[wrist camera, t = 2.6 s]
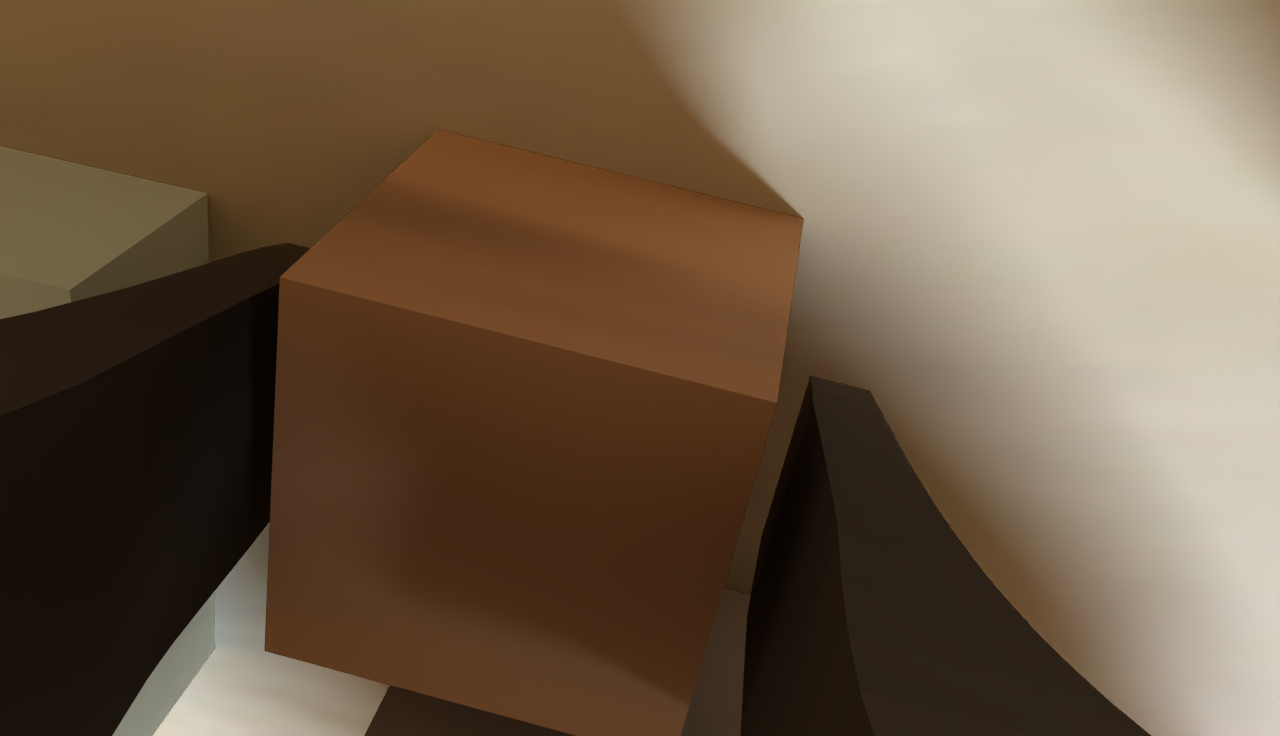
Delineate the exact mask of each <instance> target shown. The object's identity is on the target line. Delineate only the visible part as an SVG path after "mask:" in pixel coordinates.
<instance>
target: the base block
mask: <svg viewBox="0 0 1280 736" xmlns="http://www.w3.org/2000/svg"><path fill="white" fill-rule="evenodd" d="M207 263H209V240H208V193H205V192H200V191H196V190H192V189H187V188H183V187H178V186H174V185H170V184H165V183H161V182H156V181H152V180H148V179H143V178H139V177H134V176H130V175H126V174H121V173H117V172H112V171H108V170H104V169H99V168H95V167H90V166H86V165H82V164H77V163H73V162H68V161H64V160H60V159H55V158H51V157H46V156H42V155H38V154H33V153H29V152H24V151H20V150H16V149H11V148H7V147H2V146H0V319H3V318H8V317H13V316H18V315H22V314H27V313H31V312H36V311H40V310H43V309H47V308H51V307H55V306H59V305H63V304H67V303H70V302H74V301H78V300H82V299H86V298H90V297H93V296H97V295H101V294H105V293H109V292H113V291H116V290H120V289H124V288H128V287H131V286H135V285H138V284H141V283H145V282H148V281H151V280H155V279H158V278H161V277H164V276H168V275H171V274H174V273H178V272H181V271H184V270H188V269H191V268H194V267H198V266H201V265H204V264H207ZM214 649H215V611H214V592H213V594H212V595H211V596H210V598H209V599H208V600H207V601H206V603H205V604H204V605H203V606H202V608H201V609H200V610H199V611H198V613H197V614H196V615H195V616H194V618H193V619H192V620H191V621H190V623H189V624H188V625H187V627H186V628H185V629H184V630H183V632H182V633H181V634H180V635H179V637H178V638H177V639H176V640H175V642H174V643H173V644H172V646H171V647H170V648H169V650H168V651H167V653H166V654H165V655H164V657H163V658H162V660H161V661H160V662H159V664H158V665H157V667H156V668H155V669H154V671H153V672H152V674H151V675H150V676H149V678H148V679H147V681H146V682H145V684H144V686H143V687H142V689H141V690H140V692H139V694H138V695H137V697H136V698H135V700H134V702H133V703H132V705H131V707H130V708H129V710H128V711H127V713H126V715H125V716H124V718H123V719H122V721H121V723H120V724H119V726H118V727H117V729H116V731H115V732H114V734H113V735H112V736H152V735H153V734H154V733H155V731H156V730H157V729H158V727H159V726H160V724H161V723H162V722H163V720H164V719H165V717H166V716H167V715H168V713H169V712H170V710H171V709H172V708H173V706H174V705H175V703H176V702H177V701H178V699H179V698H180V696H181V695H182V694H183V692H184V691H185V689H186V688H187V687H188V685H189V684H190V682H191V681H192V680H193V678H194V677H195V676H196V674H197V673H198V671H199V670H200V669H201V667H202V666H203V664H204V663H205V662H206V660H207V659H208V657H209V656H210V655H211V653H212V652H213V650H214Z"/></svg>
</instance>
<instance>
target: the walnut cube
mask: <svg viewBox="0 0 1280 736" xmlns="http://www.w3.org/2000/svg"><path fill="white" fill-rule="evenodd" d="M803 220H804V219H803V218H799V217H795V216H791V215H787V214H783V213H778V212H774V211H770V210H766V209H762V208H758V207H754V206H750V205H746V204H742V203H737V202H733V201H729V200H725V199H721V198H717V197H713V196H709V195H705V194H701V193H696V192H692V191H688V190H684V189H680V188H676V187H672V186H668V185H664V184H660V183H655V182H651V181H647V180H643V179H639V178H635V177H631V176H627V175H623V174H618V173H614V172H610V171H606V170H602V169H598V168H594V167H590V166H586V165H582V164H577V163H573V162H569V161H565V160H561V159H557V158H553V157H549V156H545V155H541V154H536V153H532V152H528V151H524V150H520V149H516V148H512V147H508V146H504V145H500V144H495V143H491V142H487V141H483V140H479V139H475V138H471V137H467V136H463V135H458V134H454V133H450V132H446V131H442V130H437V131H436V132H435V133H434V134H433V135H432V136H431V137H430V138H429V139H428V140H427V141H426V142H425V143H423V144H422V145H421V146H420V147H419V148H418V149H417V150H416V151H415V152H414V153H413V154H412V155H411V156H410V157H408V158H407V159H406V160H405V161H404V162H403V163H402V164H401V165H400V166H399V167H398V168H397V169H396V170H394V171H393V172H392V173H391V174H390V175H389V176H388V177H387V178H386V179H385V180H384V181H383V182H382V183H380V184H379V185H378V186H377V187H376V188H375V189H374V190H373V191H372V192H371V193H370V194H369V195H368V196H367V197H365V198H364V199H363V200H362V201H361V202H360V203H359V204H358V205H357V206H356V207H355V208H354V209H353V210H351V211H350V212H349V213H348V214H347V215H346V216H345V217H344V218H343V219H342V220H341V221H340V222H339V223H337V224H336V225H335V226H334V227H333V228H332V229H331V230H330V231H329V232H328V233H327V234H326V235H325V236H324V237H322V238H321V239H320V240H319V241H318V242H317V243H316V244H315V245H314V246H313V247H312V248H311V249H310V250H308V251H307V252H306V253H305V254H304V255H303V256H302V257H301V258H300V259H299V260H298V261H297V262H296V263H294V264H293V265H292V266H291V267H290V268H289V269H288V270H287V271H286V272H285V273H284V274H283V275H282V276H281V277H280V286H279V310H278V335H277V360H276V384H275V409H274V433H273V458H272V482H271V507H270V531H269V556H268V581H267V605H266V630H265V651H267V652H271V653H274V654H278V655H282V656H286V657H289V658H293V659H297V660H300V661H304V662H308V663H311V664H315V665H319V666H322V667H326V668H330V669H333V670H337V671H341V672H344V673H348V674H352V675H355V676H359V677H363V678H366V679H370V680H374V681H377V682H381V683H385V684H388V685H392V686H396V687H399V688H403V689H407V690H410V691H414V692H418V693H421V694H425V695H429V696H432V697H436V698H440V699H443V700H447V701H451V702H454V703H458V704H462V705H465V706H469V707H473V708H476V709H480V710H484V711H487V712H491V713H495V714H498V715H502V716H506V717H509V718H513V719H517V720H520V721H524V722H528V723H531V724H535V725H539V726H542V727H546V728H550V729H553V730H557V731H561V732H564V733H568V734H572V735H575V736H681V733H682V730H683V726H684V723H685V719H686V716H687V712H688V709H689V705H690V702H691V699H692V695H693V692H694V688H695V685H696V681H697V678H698V674H699V671H700V667H701V664H702V660H703V657H704V654H705V650H706V647H707V643H708V640H709V636H710V633H711V629H712V626H713V622H714V619H715V616H716V612H717V609H718V605H719V602H720V598H721V595H722V591H723V588H724V584H725V581H726V578H727V574H728V571H729V567H730V564H731V560H732V557H733V553H734V550H735V546H736V543H737V540H738V536H739V533H740V529H741V526H742V522H743V519H744V515H745V512H746V508H747V505H748V501H749V498H750V495H751V491H752V488H753V484H754V481H755V477H756V474H757V470H758V467H759V463H760V460H761V457H762V453H763V450H764V446H765V443H766V439H767V436H768V432H769V429H770V425H771V422H772V419H773V415H774V412H775V408H776V405H777V400H778V393H779V386H780V379H781V372H782V365H783V358H784V351H785V344H786V338H787V331H788V324H789V317H790V310H791V303H792V296H793V289H794V282H795V275H796V269H797V262H798V255H799V248H800V241H801V234H802V227H803Z"/></svg>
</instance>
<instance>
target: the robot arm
mask: <svg viewBox="0 0 1280 736" xmlns="http://www.w3.org/2000/svg"><path fill="white" fill-rule="evenodd" d="M308 250H310V248H306V247H302V246H298V245H294V244H290V243H284V244H278V245H272V246H268V247H264V248H260V249H256V250H252V251H248V252H245V253H241V254H237V255H234V256H231V257H227V258H224V259H221V260H217V261H214V262H211V263H207V264H204V265H201V266H198V267H194V268H191V269H188V270H184V271H181V272H178V273H174V274H171V275H168V276H164V277H161V278H158V279H155V280H151V281H148V282H145V283H141V284H138V285H135V286H131V287H128V288H124V289H120V290H116V291H113V292H109V293H105V294H101V295H97V296H93V297H90V298H86V299H82V300H78V301H74V302H70V303H67V304H63V305H59V306H55V307H51V308H47V309H43V310H40V311H36V312H31V313H27V314H22V315H18V316H13V317H8V318H3V319H0V736H112V735H113V734H114V732H115V731H116V729H117V727H118V726H119V724H120V723H121V721H122V719H123V718H124V716H125V715H126V713H127V711H128V710H129V708H130V707H131V705H132V703H133V702H134V700H135V698H136V697H137V695H138V694H139V692H140V690H141V689H142V687H143V686H144V684H145V682H146V681H147V679H148V678H149V676H150V675H151V674H152V672H153V671H154V669H155V668H156V667H157V665H158V664H159V662H160V661H161V660H162V658H163V657H164V655H165V654H166V653H167V651H168V650H169V648H170V647H171V646H172V644H173V643H174V642H175V640H176V639H177V638H178V637H179V635H180V634H181V633H182V632H183V630H184V629H185V628H186V627H187V625H188V624H189V623H190V621H191V620H192V619H193V618H194V616H195V615H196V614H197V613H198V611H199V610H200V609H201V608H202V606H203V605H204V604H205V603H206V601H207V600H208V599H209V598H210V596H211V595H212V594H213V592H214V591H215V590H216V589H217V587H218V586H219V585H220V584H221V582H222V581H223V580H224V579H225V577H226V576H227V575H228V574H229V572H230V571H231V570H232V569H233V567H234V566H235V565H236V564H237V562H238V561H239V560H240V558H241V557H242V556H243V555H244V553H245V552H246V551H247V550H248V548H249V547H250V546H251V545H252V543H253V542H254V541H255V539H256V538H257V537H258V536H259V534H260V533H261V532H262V530H263V529H264V528H265V527H266V525H267V524H268V523H269V521H270V507H271V482H272V458H273V433H274V409H275V384H276V360H277V335H278V310H279V286H280V277H281V276H282V275H283V274H284V273H285V272H286V271H287V270H288V269H289V268H290V267H291V266H292V265H293V264H294V263H296V262H297V261H298V260H299V259H300V258H301V257H302V256H303V255H304V254H305V253H306V252H307V251H308ZM740 736H1151V735H1150V734H1148V733H1147V732H1146V731H1145V730H1143V729H1142V728H1141V727H1140V726H1139V725H1137V724H1136V723H1135V722H1134V721H1133V720H1131V719H1130V718H1129V717H1128V716H1127V715H1125V714H1124V713H1123V712H1122V711H1121V710H1119V709H1118V708H1117V707H1116V706H1114V705H1113V704H1112V703H1111V702H1110V701H1109V700H1107V699H1106V698H1105V697H1104V696H1103V695H1102V694H1101V693H1100V692H1099V691H1098V690H1097V689H1095V688H1094V687H1093V686H1092V685H1091V684H1090V683H1089V682H1088V681H1087V680H1086V679H1085V678H1083V677H1082V676H1081V675H1080V674H1079V673H1078V672H1077V671H1076V670H1075V669H1074V668H1073V667H1072V666H1070V665H1069V664H1068V663H1067V662H1066V661H1065V660H1064V659H1063V658H1062V657H1061V656H1060V655H1059V654H1058V653H1057V652H1056V651H1055V650H1054V649H1053V648H1052V647H1051V646H1050V645H1049V644H1048V643H1047V642H1046V641H1045V640H1044V639H1043V638H1042V637H1041V636H1040V635H1039V634H1038V633H1037V632H1036V631H1035V630H1034V629H1033V628H1032V627H1031V626H1030V625H1029V623H1028V622H1027V621H1026V620H1025V619H1024V618H1023V617H1022V616H1021V615H1020V613H1019V612H1018V611H1017V610H1016V609H1015V608H1014V607H1013V606H1012V605H1011V603H1010V602H1009V601H1008V600H1007V599H1006V598H1005V597H1004V596H1003V595H1002V593H1001V592H1000V591H999V590H998V589H997V588H996V587H995V585H994V584H993V583H992V582H991V580H990V579H989V578H988V577H987V576H986V574H985V573H984V572H983V571H982V569H981V568H980V567H979V566H978V564H977V563H976V562H975V560H974V559H973V558H972V556H971V555H970V554H969V552H968V551H967V549H966V548H965V547H964V545H963V544H962V543H961V541H960V540H959V539H958V537H957V536H956V535H955V533H954V532H953V530H952V529H951V528H950V526H949V525H948V523H947V522H946V520H945V519H944V518H943V516H942V515H941V513H940V512H939V510H938V509H937V507H936V506H935V504H934V503H933V501H932V499H931V498H930V496H929V495H928V493H927V491H926V490H925V488H924V487H923V485H922V483H921V482H920V480H919V479H918V477H917V475H916V473H915V472H914V470H913V468H912V467H911V465H910V463H909V461H908V459H907V458H906V456H905V454H904V452H903V450H902V449H901V447H900V445H899V443H898V441H897V440H896V438H895V436H894V434H893V432H892V430H891V429H890V427H889V425H888V423H887V421H886V419H885V417H884V416H883V414H882V412H881V410H880V408H879V406H878V405H877V403H876V401H875V399H874V398H873V396H872V394H871V392H870V391H868V390H864V389H860V388H857V387H853V386H849V385H845V384H841V383H837V382H833V381H829V380H825V379H821V378H817V377H813V376H810V379H809V382H808V386H807V389H806V392H805V395H804V399H803V402H802V405H801V409H800V412H799V415H798V418H797V422H796V425H795V428H794V431H793V435H792V438H791V441H790V445H789V448H788V451H787V454H786V458H785V461H784V464H783V468H782V471H781V474H780V477H779V481H778V484H777V487H776V490H775V494H774V497H773V500H772V504H771V507H770V510H769V513H768V517H767V520H766V523H765V527H764V530H763V533H762V537H761V543H760V548H759V553H758V558H757V564H756V569H755V574H754V580H753V585H752V591H751V596H750V602H749V608H748V613H747V626H746V642H745V660H744V678H743V697H742V716H741V735H740Z"/></svg>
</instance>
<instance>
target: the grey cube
mask: <svg viewBox="0 0 1280 736" xmlns="http://www.w3.org/2000/svg"><path fill="white" fill-rule="evenodd" d="M750 596H751V595H749V594H745V593H741V592H738V591H734V590H730V589H726V588H723V591H722V595H721V598H720V602H719V605H718V609H717V612H716V616H715V619H714V622H713V626H712V629H711V633H710V636H709V640H708V643H707V647H706V650H705V654H704V657H703V660H702V664H701V667H700V671H699V674H698V678H697V681H696V685H695V688H694V692H693V695H692V699H691V702H690V705H689V709H688V712H687V716H686V719H685V723H684V726H683V730H682V733H681V736H740V735H741V716H742V697H743V678H744V660H745V642H746V626H747V613H748V608H749V602H750ZM365 736H575V735H572V734H568V733H564V732H561V731H557V730H553V729H550V728H546V727H542V726H539V725H535V724H531V723H528V722H524V721H520V720H517V719H513V718H509V717H506V716H502V715H498V714H495V713H491V712H487V711H484V710H480V709H476V708H473V707H469V706H465V705H462V704H458V703H454V702H451V701H447V700H443V699H440V698H436V697H432V696H429V695H425V694H421V693H418V692H414V691H410V690H407V689H403V688H399V687H396V686H392V685H390V686H389V688H388V690H387V692H386V694H385V696H384V698H383V700H382V702H381V704H380V706H379V708H378V710H377V712H376V714H375V716H374V718H373V720H372V722H371V724H370V726H369V728H368V730H367V732H366V734H365Z"/></svg>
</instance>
